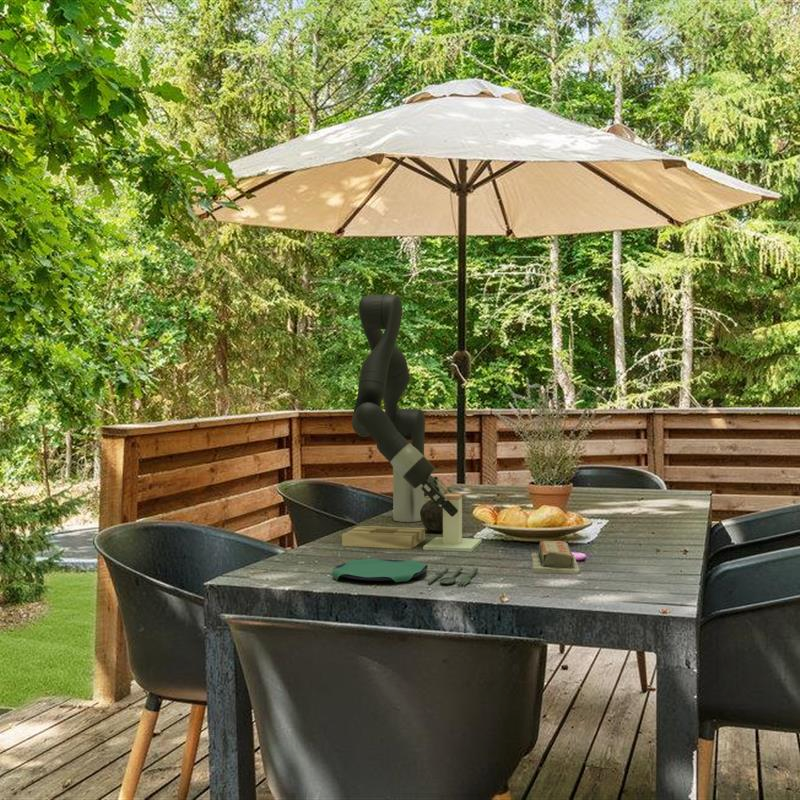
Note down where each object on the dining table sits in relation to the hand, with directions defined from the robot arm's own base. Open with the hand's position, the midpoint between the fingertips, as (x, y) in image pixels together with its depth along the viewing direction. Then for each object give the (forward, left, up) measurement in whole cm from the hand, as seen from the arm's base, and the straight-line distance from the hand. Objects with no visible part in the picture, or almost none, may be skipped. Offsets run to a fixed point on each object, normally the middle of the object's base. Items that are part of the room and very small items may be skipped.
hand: (457, 511), depth 231 cm
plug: (0, -1, -8) cm, 8 cm away
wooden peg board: (0, -19, -9) cm, 21 cm away
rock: (-21, -9, -9) cm, 25 cm away
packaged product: (+19, +26, -9) cm, 33 cm away
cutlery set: (+39, -4, -9) cm, 40 cm away
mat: (0, -1, -9) cm, 9 cm away
